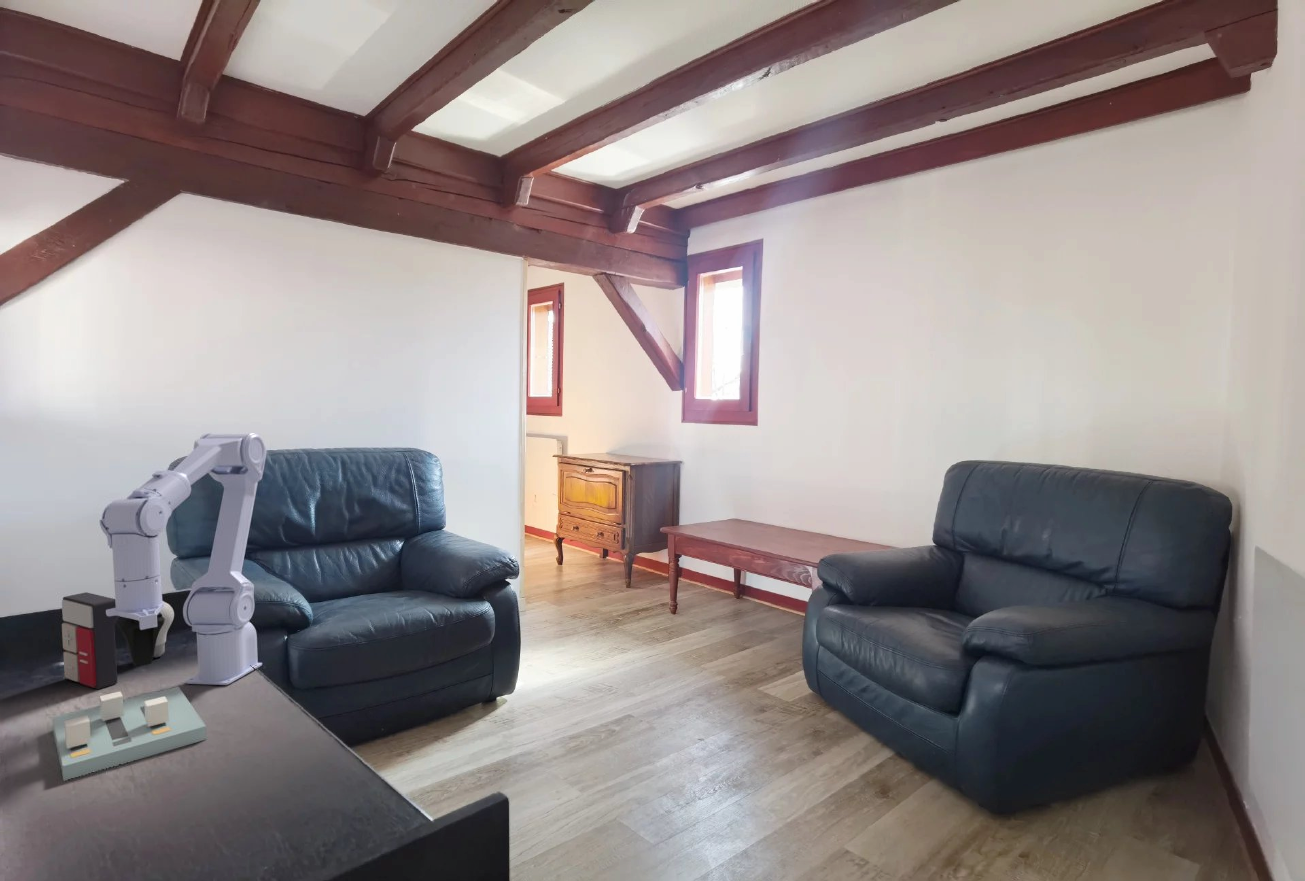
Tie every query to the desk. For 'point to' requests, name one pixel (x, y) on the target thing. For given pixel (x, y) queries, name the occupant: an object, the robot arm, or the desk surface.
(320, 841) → the desk surface
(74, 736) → the tab
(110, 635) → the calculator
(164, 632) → the lightbulb
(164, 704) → the tab
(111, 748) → the switch board
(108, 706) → the tab
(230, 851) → the desk surface
